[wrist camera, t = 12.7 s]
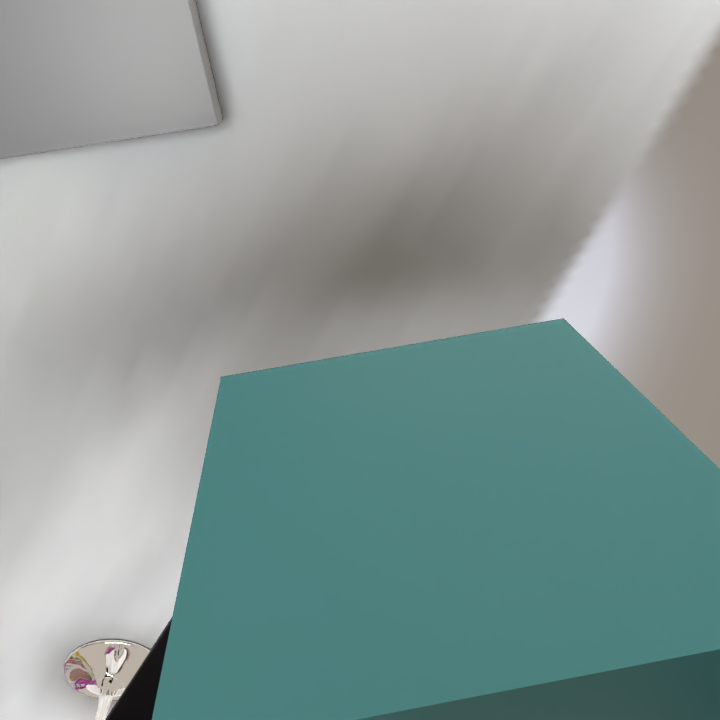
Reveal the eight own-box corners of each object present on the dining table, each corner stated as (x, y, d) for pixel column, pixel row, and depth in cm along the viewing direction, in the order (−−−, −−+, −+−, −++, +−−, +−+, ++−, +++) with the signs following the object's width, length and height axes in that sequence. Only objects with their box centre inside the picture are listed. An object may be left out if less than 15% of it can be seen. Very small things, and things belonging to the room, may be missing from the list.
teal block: (288, 606, 10) (289, 1001, 6) (221, 377, 8) (142, 760, 4) (552, 557, 11) (735, 908, 6) (563, 317, 8) (874, 619, 4)
